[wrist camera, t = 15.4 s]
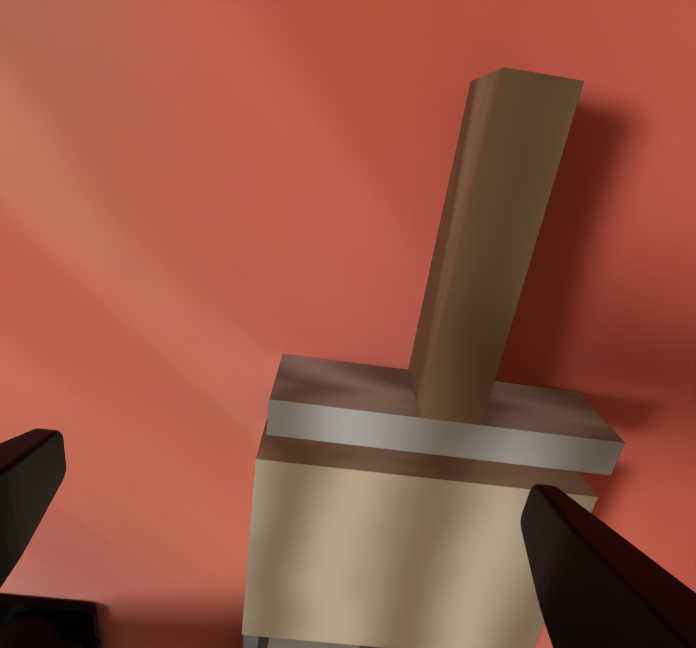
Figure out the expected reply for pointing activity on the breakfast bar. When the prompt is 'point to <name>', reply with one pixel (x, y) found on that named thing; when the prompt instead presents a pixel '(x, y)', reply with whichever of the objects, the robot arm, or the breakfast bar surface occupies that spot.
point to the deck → (392, 547)
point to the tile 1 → (304, 644)
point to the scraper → (467, 311)
